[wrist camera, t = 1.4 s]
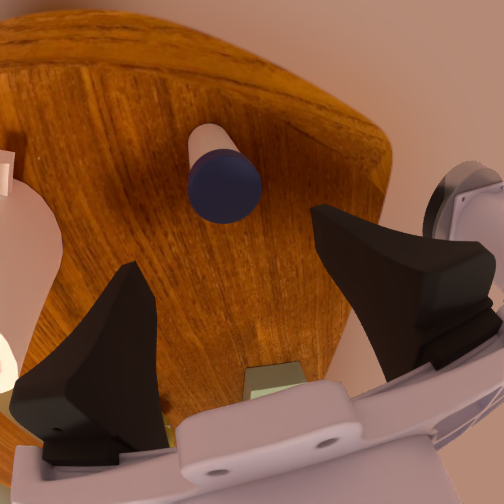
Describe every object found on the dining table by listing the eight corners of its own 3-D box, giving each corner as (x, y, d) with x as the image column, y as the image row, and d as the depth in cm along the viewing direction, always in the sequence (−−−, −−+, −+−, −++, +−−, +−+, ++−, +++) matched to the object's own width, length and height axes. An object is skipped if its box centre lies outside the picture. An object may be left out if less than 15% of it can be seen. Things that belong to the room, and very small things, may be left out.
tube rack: (245, 368, 32) (251, 391, 30) (298, 360, 33) (307, 382, 31) (239, 428, 40) (243, 446, 38) (279, 422, 41) (285, 439, 39)
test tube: (226, 116, 18) (254, 147, 11) (235, 158, 20) (268, 213, 13) (180, 128, 18) (179, 168, 11) (192, 169, 20) (200, 232, 13)
